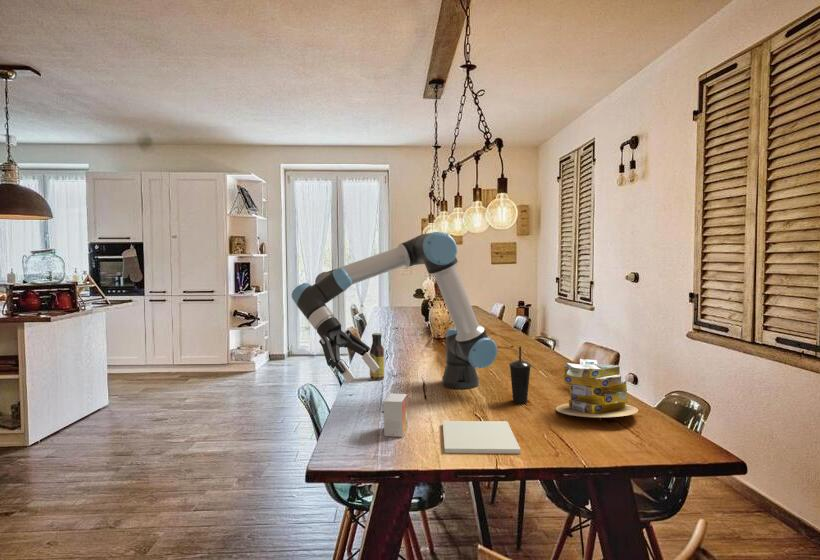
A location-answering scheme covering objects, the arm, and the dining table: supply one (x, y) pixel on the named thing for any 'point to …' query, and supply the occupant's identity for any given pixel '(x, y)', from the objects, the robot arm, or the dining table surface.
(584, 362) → the light bulb box
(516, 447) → the white square board
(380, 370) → the sauce bottle
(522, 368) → the drinking cup
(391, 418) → the small box
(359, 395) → the dining table surface
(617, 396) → the stacked boxes on plate
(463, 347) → the robot arm
